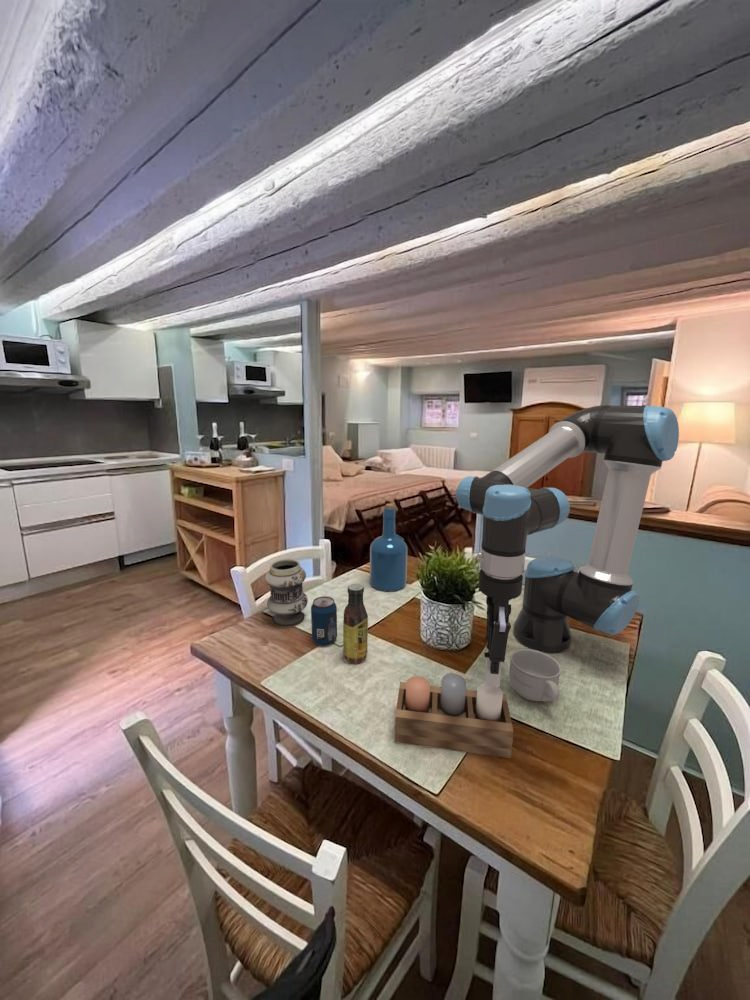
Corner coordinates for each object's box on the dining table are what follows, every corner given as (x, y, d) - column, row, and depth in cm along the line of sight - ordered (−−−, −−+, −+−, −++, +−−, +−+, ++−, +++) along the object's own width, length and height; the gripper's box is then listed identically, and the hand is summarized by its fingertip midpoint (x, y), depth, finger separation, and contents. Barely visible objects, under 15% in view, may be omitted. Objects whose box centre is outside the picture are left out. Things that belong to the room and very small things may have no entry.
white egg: (498, 710, 83) (500, 685, 81) (501, 729, 78) (504, 702, 77) (474, 707, 84) (476, 682, 82) (476, 725, 79) (478, 699, 78)
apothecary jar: (280, 606, 131) (277, 554, 127) (314, 612, 128) (313, 558, 123) (260, 626, 120) (256, 569, 115) (297, 632, 117) (294, 574, 112)
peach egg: (429, 702, 85) (430, 677, 84) (428, 719, 80) (429, 693, 79) (406, 699, 86) (407, 674, 84) (404, 716, 81) (405, 691, 80)
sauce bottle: (361, 667, 102) (361, 595, 97) (339, 662, 104) (338, 591, 99) (371, 652, 108) (371, 584, 103) (349, 647, 110) (349, 580, 105)
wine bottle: (394, 596, 138) (396, 511, 131) (362, 586, 145) (362, 505, 138) (413, 581, 149) (416, 502, 142) (382, 573, 156) (383, 497, 149)
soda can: (317, 632, 117) (315, 594, 114) (340, 635, 116) (339, 596, 113) (308, 646, 110) (306, 606, 107) (332, 649, 109) (332, 609, 106)
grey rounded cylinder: (463, 699, 84) (465, 674, 82) (465, 717, 79) (467, 691, 77) (440, 697, 84) (441, 672, 83) (440, 714, 80) (441, 688, 78)
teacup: (502, 675, 99) (504, 646, 97) (546, 676, 99) (550, 647, 97) (519, 719, 86) (523, 686, 84) (571, 720, 86) (576, 688, 84)
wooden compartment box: (503, 718, 86) (505, 694, 85) (510, 758, 76) (513, 731, 75) (399, 705, 89) (400, 681, 88) (394, 742, 80) (395, 716, 78)
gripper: (476, 556, 80) (470, 660, 86) (483, 586, 68) (474, 705, 74) (516, 558, 79) (506, 663, 85) (530, 589, 66) (517, 710, 72)
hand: (491, 682), depth 79 cm, fingers closed
